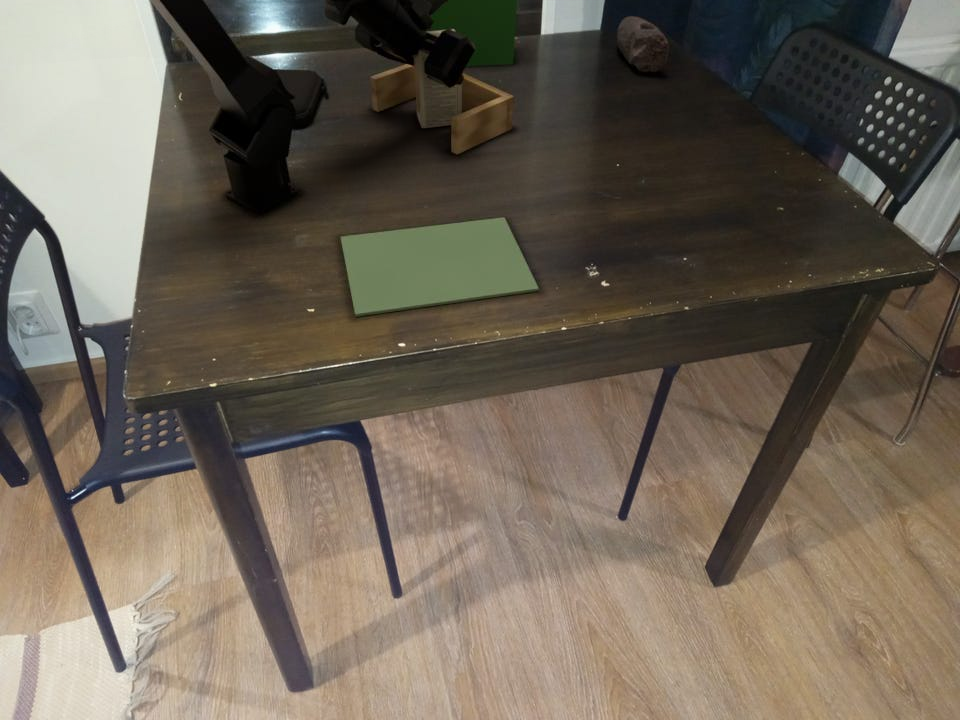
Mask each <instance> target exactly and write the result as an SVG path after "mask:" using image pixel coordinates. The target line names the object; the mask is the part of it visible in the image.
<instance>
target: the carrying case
mask: <svg viewBox="0 0 960 720" xmlns="http://www.w3.org/2000/svg"><path fill="white" fill-rule="evenodd" d="M273 69H274V70H275V71H276V72H277V73H278V75H279V76H280V78H281V81H282V83H283V85H284V87H285V89H286V90H287V91H288V92H289V93H290V94H292V95H294V96H295V99H292V100H290V101H291V102H292V103H293V105H294V107H295V109H296V114H297V116H296V117H295V122H294V126H299V125H304V124H305V123H306V122H307V121H308V120H309V119H310V118H312V117H313V116H312V115H313V114H314V110H315V108H316V106H317V103H318V100H319V97H320V94H321V91H322V90H324V92H325V93H327V91H328V86H327V85H328V84H327V81H326V79H325V78H323V77H322V76H320V75H319V74H318V73H317V72H316V71H314V70H311V69H286V68H285V69H283V68H279V69H278V68H273Z"/></svg>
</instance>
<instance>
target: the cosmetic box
mask: <svg viewBox="0 0 960 720" xmlns="http://www.w3.org/2000/svg"><path fill="white" fill-rule="evenodd" d="M451 30H453V31H455V30H454V29H451ZM442 31H445V30H438V31H428V33H430V34H432V35H435V36H437V37H439V35H440V34H441V32H442ZM455 32H456V31H455ZM428 55H429V54H427V53H425V52H422V51H420V50H419V53H418V55H417V57H415V58H414V71H415V88H416V97H415V104H416V105H415V106H416V116H417V120H418V122H419V125H420V128H421V129H428V128H429V129H430V128H439V127H445V126H446V127H447V126H451V118H452V117H455V116H457V115H459V114H462V113H463V110H462V85H456V84H455V86H453V87H451V88H448V87H446V86H444V85H442V84H440V83H437V82H435V81H433V80H431V79H429V78H427V76H428V75H427V74H425V73H424V62H425V60H426V58H427V57H428Z"/></svg>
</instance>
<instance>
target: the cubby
mask: <svg viewBox="0 0 960 720" xmlns="http://www.w3.org/2000/svg"><path fill="white" fill-rule="evenodd" d="M462 73H463V76H464V80H463V82H462V84H461V85H462V114H459V115H457V116H455V117H452V118H451V125H450V129H451V131H450V134H451V135H450V137H451V138H450V145H451V146H450V147H451V148H450V150H451V151H450V152H451V153H453V154H455V155H459V154H462V153H464V152H466V151H468V150H470V149H472V148H474V147H476V146H479V145H481V144H483V143H485V142H487V141H489V140H491V139H493V138H496V137H498V136H500V135H502V134H504V133H507V132H508V131H511V130H512V129H513V118H514V117H513V116H514V103H515V102H514V101H515V96H514V95H512V94H510V93H508V92H506V91H503V90H502V89H499V88H497V87H495V86H492V85H491V84H487V83H486V82H483V81H481V80H479V79H477V78H475V77H472V76H470V75H468V74H466V73H464V72H462ZM369 79H370V89H371V91H370V92H371V102H372V110H373V111H375V112H377V113H379V112H381V111H384V110H386V109H389V108H391V107H392V108H393V107H394V106H397V105H399V104H402V103H404V102H407V101H410V100H413V99H416V88H415V71H414V66H412V65H408V64H402V65H399V66H397V67H394V68H391V69H389V70H385V71H383V72H380V73H377V74H374V75H372V76H370V77H369Z"/></svg>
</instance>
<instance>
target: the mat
mask: <svg viewBox="0 0 960 720" xmlns="http://www.w3.org/2000/svg"><path fill="white" fill-rule="evenodd" d="M340 241H341V242H340V243H341V246H342V247H341V248H342V253H343V254H342V255H343V258H344V259H343V260H344V264H345V269H346V273H347V274H346V275H347V279H348V286H349V290H350V291H349V292H350V295H351V302H352V305H353V306H352V307H353V311H354V317H356V318H357V317H364V316H365V317H366V316H371V315H378V314H379V315H380V314H385V313H392V312H398V311H399V312H400V311H406V310H414V309H421V308H427V307H436V306H443V305H449V304H450V305H451V304H455V303H463V302H470V301H477V300H484V299H491V298H499V297H506V296H512V295H522V294H526V293H534V292H539V289H540V287H539V286H538V283H537V282H536V279H535V277H534V276H533V273H532V272H531V269H530V267H529V265H528V264H527V261H526V259H525V257H524V255H523V253H522V250H521V248H520V246H519V244H518V242H517V240H516V237H515V236H514V234H513V232H512V230H511V228H510V226H509V224H508V222H507V220H506V218H505V216H503V217H495V218H487V219H486V218H485V219H478V220H470V221H462V222H453V223H452V222H451V223H445V224H436V225H427V226H419V227H411V228H403V229H402V228H401V229H394V230H385V231H378V232H376V231H375V232H369V233H361V234H352V235H344V236H340Z"/></svg>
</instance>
